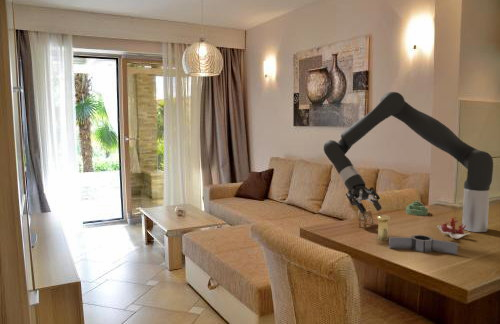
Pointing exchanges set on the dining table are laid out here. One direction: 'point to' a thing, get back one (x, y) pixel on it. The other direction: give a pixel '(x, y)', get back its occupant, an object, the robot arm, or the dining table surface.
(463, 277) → the dining table surface
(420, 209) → the decorative artifact
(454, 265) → the dining table surface
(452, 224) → the figurine
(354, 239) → the dining table surface
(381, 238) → the hinge pin
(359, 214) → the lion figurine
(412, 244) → the hinge
